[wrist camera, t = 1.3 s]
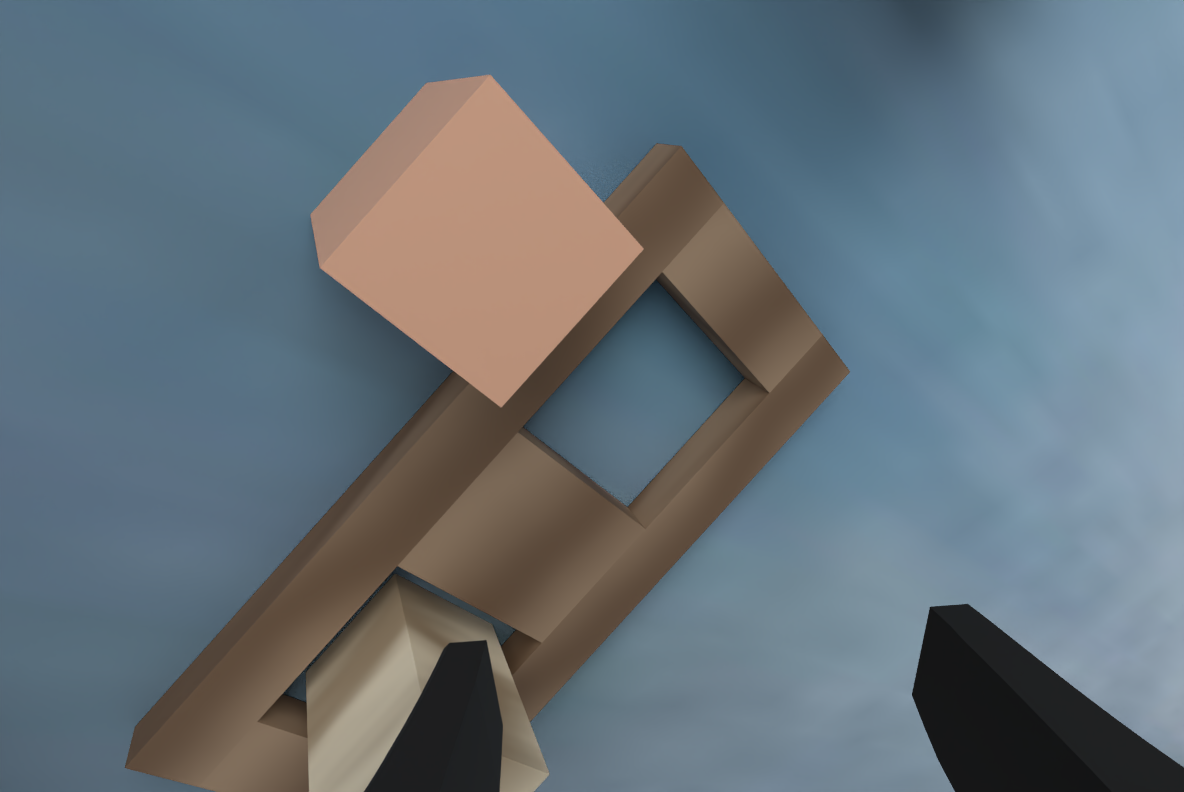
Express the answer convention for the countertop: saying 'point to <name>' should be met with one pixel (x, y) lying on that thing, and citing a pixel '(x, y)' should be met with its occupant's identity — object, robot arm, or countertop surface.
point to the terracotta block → (472, 234)
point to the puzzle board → (511, 503)
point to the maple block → (400, 689)
